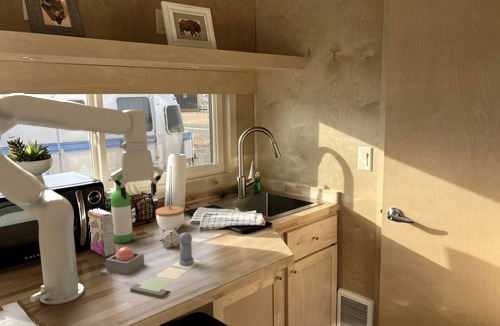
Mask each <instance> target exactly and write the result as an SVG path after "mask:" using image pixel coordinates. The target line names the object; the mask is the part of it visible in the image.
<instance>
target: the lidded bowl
mask: <svg viewBox="0 0 500 326" xmlns="http://www.w3.org/2000/svg"><path fill="white" fill-rule="evenodd" d="M184 212H185V208H184V207H182V206H177V205H167V206H162V207H159V208H157V209H155V216H156V217H155V218H156V222H157V225H158V226H159V228H160V229H161V230H163V229H164V231H166V230H174V229H175V228H176V231H178V230H179V229H180V227H181V226H182V225H183V223H184V220H185V213H184ZM164 231H163V232H164Z"/></svg>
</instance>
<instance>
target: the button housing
mask: <svg viewBox="0 0 500 326" xmlns="http://www.w3.org/2000/svg"><path fill="white" fill-rule="evenodd" d="M144 265H145V255H144V253H142V252H135V251H134V258H132V259H130V260H128V261H127V262H125V261H119V260H116V253H115V254H112V255H110V256H109V257H108V258H106V259H105V266H106V268H104V269H102V270H100V271H99V272H100V273H99V274H100V275H103V276H106V275H108V274H111V272H113V273H118V274H124V275H129V274H131V273H132V272H134V271H136V270H137V269H139V268H140V267H142V266H144Z"/></svg>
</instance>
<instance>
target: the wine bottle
mask: <svg viewBox="0 0 500 326" xmlns="http://www.w3.org/2000/svg"><path fill="white" fill-rule="evenodd" d="M118 170H119V169H118ZM118 170H114V173H115V172H117V171H118ZM116 178H117V180H118V181H120V182H121V181H122V179H123V178H122V174H120V175H118V176H117V177H116ZM110 207H111V213H112V219H113V230H114V242H115V243H117V244H126V243H129V242H132V240H133V237H134V236H133V220H132V219H133V218H132V208H131V207H132V206H131V196H130V194H129V192H128V191H127V190H126V199H124V198H123V197H121V191H120V186H118V185H117V184H116V183H115V191H113V192H112V194H111V196H110Z"/></svg>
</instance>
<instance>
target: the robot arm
mask: <svg viewBox="0 0 500 326" xmlns="http://www.w3.org/2000/svg"><path fill="white" fill-rule="evenodd" d="M146 116H147V115H146V112H145V111H144V110H143V109H139V108H138V109H135V108H134V109H125V110H119V109H114V108H106V107H101V106H94V105H88V104H83V103H79V102H75V101H69V100H63V99H57V98H52V97H51V98H50V97H45V96H40V95H39V96H38V95H33V94H28V93H27V94H25V93H9V94H6V95H4V96H2V97H1V98H0V140H1V138H2V135H4V134H5V133H6V132H8V131H9V130H11V129H12V128H14V127H15V126H17V125H22V126H31V127H41V128H50V129H58V130H66V131H79V132H80V131H81V132H92V133H93V132H94V133H100V134H108V135H109V134H111V135H117V136H120V135H122V136H123V137H122V138H123V142H122V143H121V144H119V149H123V150H124V151H121V167H120V169H118V171H117V172H115V171H114V172H113V173H112V174H110V178H111V179H112V180H113V182H114V183H115V185H116V184H117V185H118V186H120V191H121V197H123V198H124V199H126V191H127V187H125V186H126V185H127V183H133V182H143V181H151V182H150V194H151V195H152V196H154V197H155V196H156V193H157V191H158V188H157V184H158V182H159V181H160V180H161V178H162V176H163V173H164V170H163V169H162V168H158V167H156V166H154V163H153V157H152V152H151V149H148V138H147V137H148V135H147V120H146V119H147V117H146ZM155 172H157V175H156V176H155ZM120 174H122V178H123V179H122V181H121V182H120V181H118V180H117V178H116V177H117V176H118V175H120ZM0 194H1V195H2V196H4V198H5V199H6V200H8V201H9V202H10V203H12V204H14V205H16V206H18V207H19V208H20V209H22V210H23V211H25V212H26V213H28V214H30V215H31V216H33V218H35V219H36V221H38V243H39V252H40V253H39V254H40V261H41V269H42V271H41V272H42V281H43V285H41V286H40V290H39V291H38V292H37V293H36V292H35V293H34V294H33V295H31V296H29V299H30V300H29V301H31V302H32V303H34V302H36V301H40V302H41V303H43V304H45V305H61V304H66V303H70V302H72V301H74V300H76V299H78V298H79V297H81V296H83V294H84V293H85V286H84V285H83V284H81V283H80V282H79V279H78V267H77V257H76V247H75V246H76V245H75V237H74V236H75V235H74V223H75V222H74V220H75V214H74V209H73V206H72V203H71V202H70V201H69V200H68V198H66V197H64V196H63V195H60V194H59V193H57V192H55V191H54V190H52V189H51V188H50V187H48V186H47V185H46V184H45V183H43V182H42V181H41V180H39V179H38V177H36V176H35V175H34V174H32V173H31V172H29V171H27V170H25V169H24V168H23V167H21V166H20V165H18V164H17V163H15V162H14V161H13V160H12V159H11V158H9V157H8V155H6V154H5V153H3V151H2V149H1V148H0Z"/></svg>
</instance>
